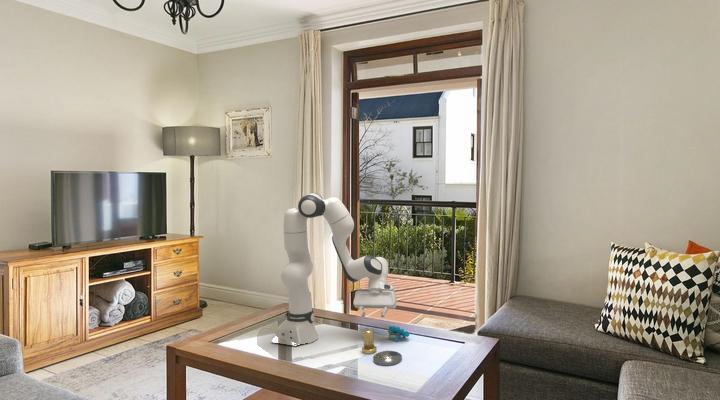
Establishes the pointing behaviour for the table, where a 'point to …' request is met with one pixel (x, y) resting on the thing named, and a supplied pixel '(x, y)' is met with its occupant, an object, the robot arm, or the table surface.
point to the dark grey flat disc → (387, 358)
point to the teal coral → (397, 332)
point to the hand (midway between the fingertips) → (372, 316)
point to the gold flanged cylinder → (368, 342)
